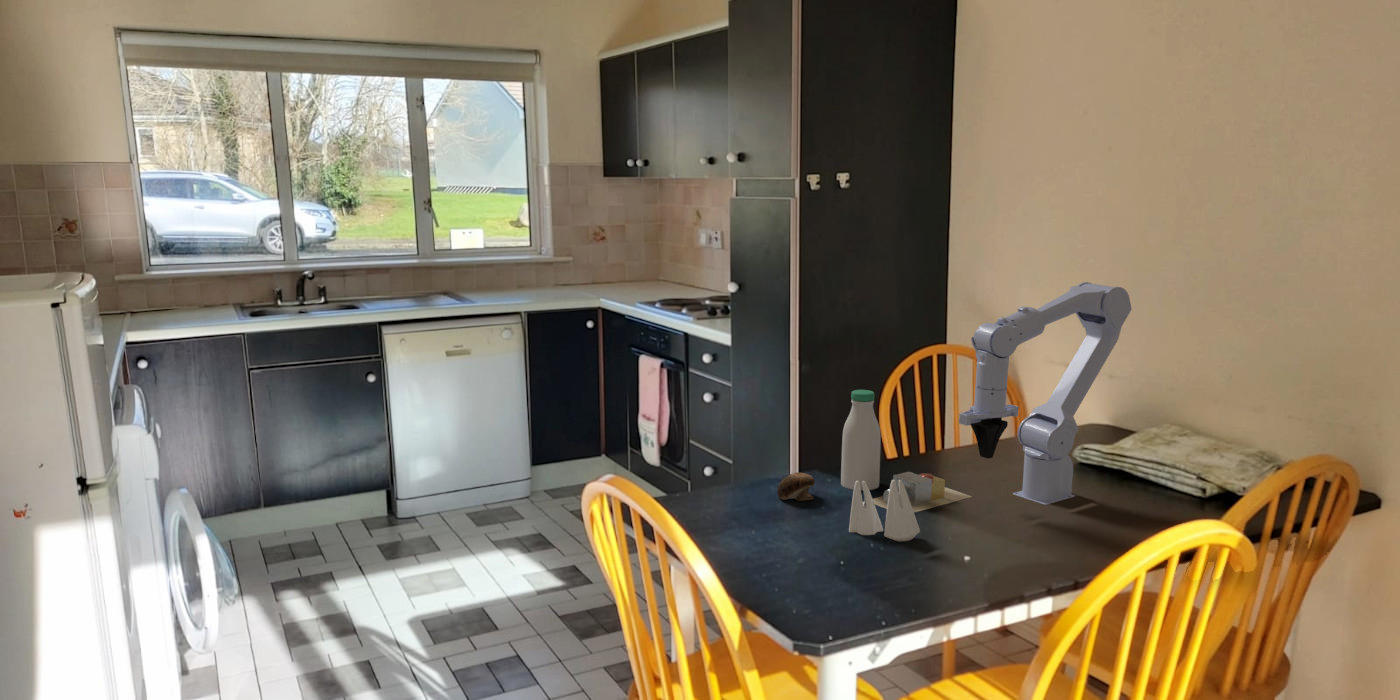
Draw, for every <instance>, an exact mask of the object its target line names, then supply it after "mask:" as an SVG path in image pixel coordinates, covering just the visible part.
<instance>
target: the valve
mask: <svg viewBox="0 0 1400 700" xmlns="http://www.w3.org/2000/svg"><path fill="white" fill-rule="evenodd" d="M918 475H920V476H923V477H926V478H929V479H932V489H931V501H933V500H937V499H940V498H944V490H945V487H946V479H944V478H940V477H938V476H935V475H934V474H931V473H925V472H923V473H919V474H918Z"/></svg>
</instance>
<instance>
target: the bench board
mask: <svg viewBox="0 0 1400 700" xmlns="http://www.w3.org/2000/svg"><path fill="white" fill-rule="evenodd" d="M972 497H973V496H971V495H969V494H966V493H963V492H961V491H957V490H954V489H951V488H949V487H946V486H945V490H944V498H940V499H937V500H933V501H931V503H928V504H925V505H921V506H917V507H914V506H912V508H913V511H914V514H915V513H918V512H921V511H926V510H929V509H932V508H936V507H941V506H943V505H948V504H952V503H954V502H959V501H962V500H966V499H970V498H972ZM872 499H873V502H874V504H875V506H878V507H880V508H883V509H886V510H887V504H886V502H885V501H884V498H883V495H881V496H878V497H874V498H872Z"/></svg>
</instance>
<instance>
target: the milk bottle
mask: <svg viewBox="0 0 1400 700" xmlns="http://www.w3.org/2000/svg"><path fill="white" fill-rule="evenodd" d="M850 399H851V401H850V402H851V408H850V411H849V414H848V416H847V418H846V420H845V423H844V426H843V429H842V440H841V441H842V442H841V443H842V444H841V462H840V463H841V467H840V485H841V486H842V487H844V488H846V489H848V490H853V491H854V485H855V482H856V481H859V483H860V488H861V491H863V484H862V482H863V481H865V482H866V484H867V486H868V488H869V491H873V490H876V489H878V488H879V487H880V475H881V474H880V472H881V471H880V469H881V468H880V467H881V439H882V438H881V436H882V435H881V434H882V433H881V427H880V424H879V422H878V419H877V416H876V413H875V410H874V403H875V392H874V391H872V390H868V389H855V390H852V391H851V395H850Z"/></svg>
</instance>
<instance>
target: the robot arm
mask: <svg viewBox="0 0 1400 700" xmlns="http://www.w3.org/2000/svg"><path fill="white" fill-rule="evenodd" d="M1131 311H1132V304H1131V299H1130V295H1129V292H1128V291H1127V290H1126V289H1125V288H1123V287H1121V286H1109V285H1102V284H1096V283H1095V284H1094V283H1092V282H1088V281H1085V282H1084V281H1083V282H1080V283H1078V285H1074V286H1071V287H1070V288H1069V291H1067V292H1065V293H1064V294H1062V295H1060V296H1058V297H1056V298H1055V299H1052V300H1051V301H1049V302H1047V303H1045V304H1044V305H1042V306H1040V307H1038V308H1034V307H1032V306H1023V305H1021V306H1020V307H1018V308H1017V311H1016V312H1014V313H1012V314H1009V315H1007V316H1005V317H1004V316H1001V317H999V318H997V321H995V323H993V322H985V323H982V324H980V325H979V326H978V327H977V328H976V330H975V332H974V333H973V336H971V338H970V339H971V341H970V342H971V344H972V345H971V346H972V348H973V349H974V351H975V358H976V369H975V370H976V371H975V372H976V374H975V386H974V399H973V400H974V403H973V405H970V407H969V409H968V410H966V411H964V412H960V413H959V416H958V417H959V418H958V424H960V425H964V426H970V427H971V429H972V431H973V433H974V435H975V439H976V443H977V446H978V453H979V457H981V458H983V459H984V458H985V459H988V460H989V459H993V458H994V455H995V452H996V450H997V446H998V444H999V441H1000V438H1001V437H1002V435H1003V433H1004V432H1005V430H1006V429H1007V427H1008V425H1009V423H1008V421H1007V420H1003V418H1007V417H1019V406H1017V405H1014V404H1007V395H1008V394H1007V392H1008V376H1009V365H1010V364H1009V363H1010V356H1012V355H1013V354H1014V353H1015V351H1016V350H1017V347H1018V346H1020V345H1021V344H1024V343H1025V342H1028V341H1030V340H1032V339H1033V338H1036V337H1038V336H1040V335H1042V334H1043V333H1044V331H1045V328H1046V326H1047V325H1049V324H1052V323H1054V322H1057V321H1059V320H1062V319H1064V318H1067V317H1069V316H1071V315H1074V314H1076V317H1077V318H1078V320H1079V322H1080V324H1081V325H1082V327H1083V329H1085V333H1086V336H1085V337H1084V339H1083V341H1082V343H1081V344H1080V346H1079V347H1078V349H1077V350H1076V352H1075V355H1074V356H1073V358H1072V359H1071V361H1070V363H1069V364H1068V367H1067V368H1066V370H1065V371H1064V373H1063V375H1062V376H1061V378H1060V380H1059V382H1058V383H1057V385H1056V387H1055V388H1054V390H1053V391H1052V394H1051V395H1050V397H1049V399H1048V400H1047V402H1045V403H1043V404H1041V405H1038V406H1036V407H1035V408H1033V409H1032V411H1031V412H1030V414H1029V415H1028V416H1027V417H1025V418H1024V419H1023V420H1022V421H1020V424H1019V425H1018V428H1017V438H1018V442H1019V443H1020V445H1022V451H1023V452H1024V458H1023V459H1024V460H1023V472H1022V473H1023V474H1022V475H1023V476H1022V489H1021V490H1019V491H1016V492H1013V493H1012V494H1013V495H1014V496H1018V497H1020V498H1024V499H1026V500H1029V501H1033V502H1035V503H1039V504H1042V505H1045V506H1047V505H1051V504H1054V503H1056V502H1060V501H1065V500H1067V499H1068V500H1069V499H1070V498H1071V499H1072V498H1074V497H1076V495H1075V494H1073V493H1072V491H1073V488H1072V487H1073V475H1074V464H1073V461H1072V458H1071V457H1070V456H1069V455H1068V454H1070V452H1071V451H1072V448H1073V447H1074V443H1075V438H1076V434H1077V433H1078V431H1079V426H1078V424H1077V422H1076V419H1075V417H1074V416H1075V414H1076V412H1077V411H1078V410H1079V408H1080V406H1081V404H1082V402H1083V401H1084V399H1085V397H1086V395H1087V394H1088V392H1089V390H1090V388H1091V387H1092V385H1093V384H1094V382H1095V380H1096V378H1097V376H1098V375H1099V373H1100V371H1101V370H1102V369H1103V366H1104V365H1105V363H1106V361H1107V359H1108V358H1109V356H1110V355H1111V353H1112V351H1113V349H1114V347H1116V346H1115V345H1116V344H1117V342H1118V340H1119V338H1120V334H1121V330H1122V327H1123V325H1124V323H1125V322H1126V320H1127V318H1128V316H1129V315H1130V313H1131Z"/></svg>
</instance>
